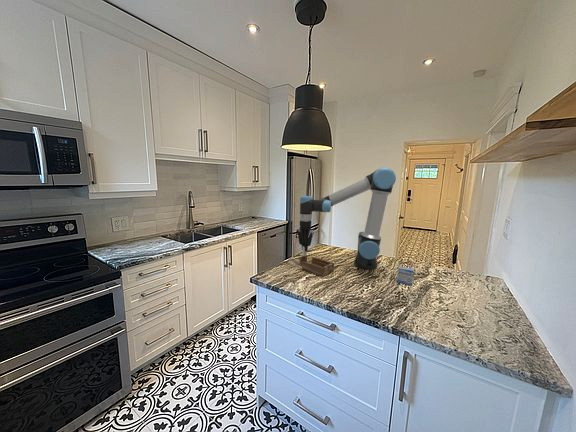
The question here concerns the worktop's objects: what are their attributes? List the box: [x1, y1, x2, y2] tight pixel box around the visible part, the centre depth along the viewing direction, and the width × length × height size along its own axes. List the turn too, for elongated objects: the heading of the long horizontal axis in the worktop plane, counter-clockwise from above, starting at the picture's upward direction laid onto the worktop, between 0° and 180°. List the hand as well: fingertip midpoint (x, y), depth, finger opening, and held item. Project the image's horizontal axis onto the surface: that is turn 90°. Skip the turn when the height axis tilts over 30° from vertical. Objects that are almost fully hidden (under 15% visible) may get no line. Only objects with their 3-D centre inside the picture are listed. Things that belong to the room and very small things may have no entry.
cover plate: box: [286, 255, 308, 269], centre depth 166 cm, size 9×13×7 cm
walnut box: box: [301, 256, 335, 278], centre depth 154 cm, size 12×16×6 cm
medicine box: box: [396, 265, 415, 286], centre depth 139 cm, size 8×4×9 cm, turn 62°
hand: (304, 255), depth 160 cm, fingers closed
